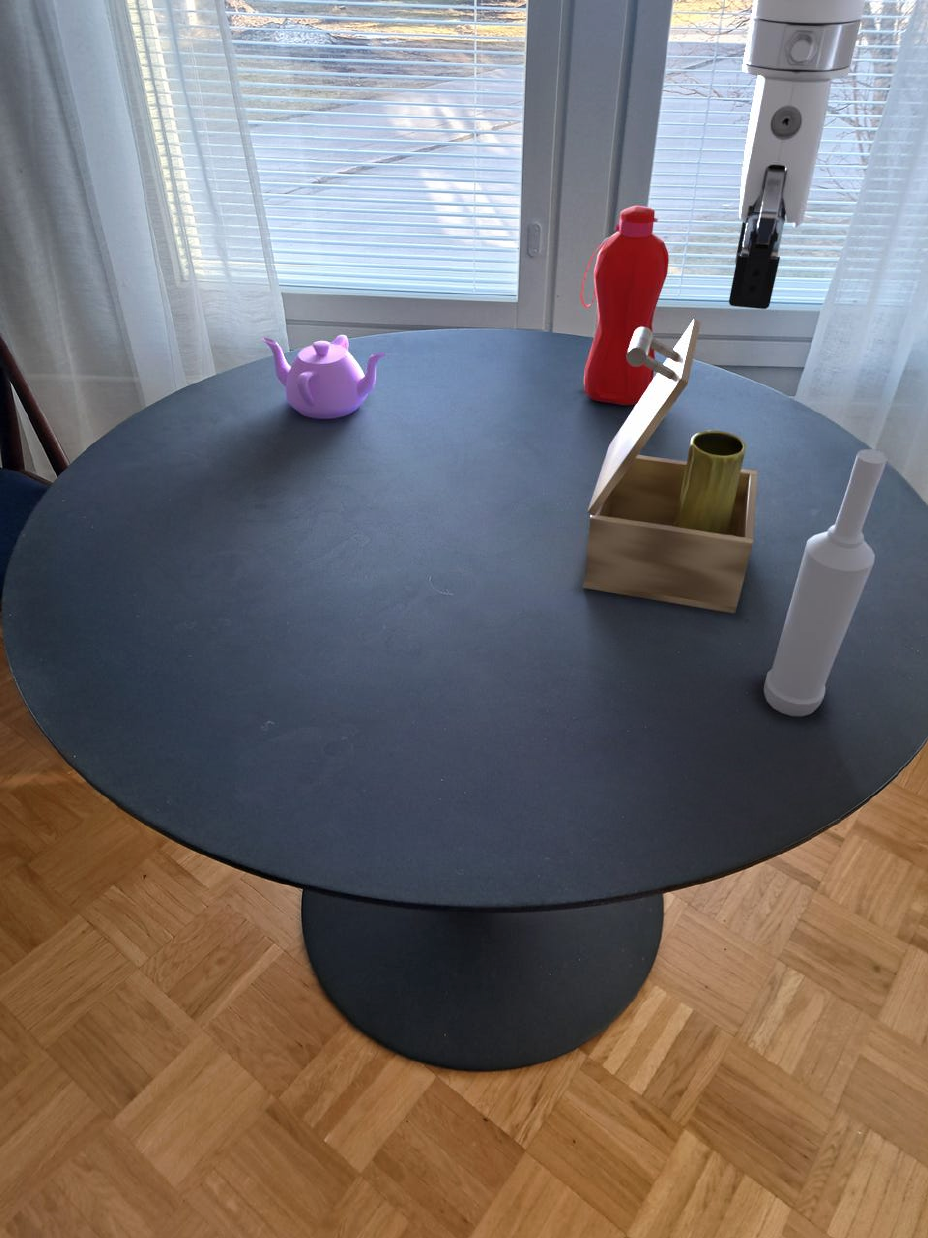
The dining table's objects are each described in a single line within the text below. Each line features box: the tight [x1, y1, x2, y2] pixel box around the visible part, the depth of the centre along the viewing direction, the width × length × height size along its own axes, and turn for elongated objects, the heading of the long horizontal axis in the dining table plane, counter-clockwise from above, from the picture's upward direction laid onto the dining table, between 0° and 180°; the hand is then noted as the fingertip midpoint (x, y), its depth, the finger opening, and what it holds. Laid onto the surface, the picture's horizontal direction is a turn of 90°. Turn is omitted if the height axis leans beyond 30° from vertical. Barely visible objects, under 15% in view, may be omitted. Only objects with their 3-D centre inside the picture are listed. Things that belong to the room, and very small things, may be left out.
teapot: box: [262, 334, 387, 420], centre depth 121 cm, size 12×14×9 cm
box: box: [582, 454, 759, 615], centre depth 92 cm, size 16×14×9 cm
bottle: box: [763, 448, 888, 717], centre depth 71 cm, size 5×5×25 cm
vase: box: [673, 429, 747, 535], centre depth 89 cm, size 6×6×14 cm
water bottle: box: [580, 205, 670, 407], centre depth 118 cm, size 9×11×25 cm
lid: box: [587, 318, 702, 516], centre depth 85 cm, size 16×14×5 cm
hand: (750, 285), depth 74 cm, fingers open, 9 cm apart
